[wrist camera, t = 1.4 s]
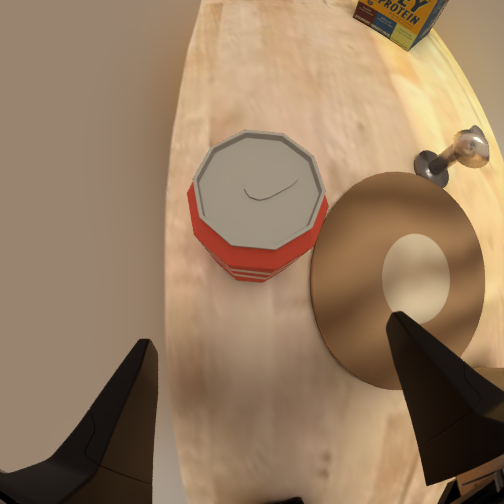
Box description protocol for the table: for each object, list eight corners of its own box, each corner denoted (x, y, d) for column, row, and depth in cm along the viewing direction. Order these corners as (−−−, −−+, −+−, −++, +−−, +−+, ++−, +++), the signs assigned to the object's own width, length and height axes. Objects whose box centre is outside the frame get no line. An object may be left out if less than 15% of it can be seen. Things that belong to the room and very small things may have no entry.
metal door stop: (416, 146, 24) (463, 100, 15) (446, 166, 24) (496, 128, 15) (411, 177, 24) (465, 133, 14) (442, 198, 23) (499, 163, 14)
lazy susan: (493, 325, 21) (498, 325, 20) (351, 424, 19) (354, 428, 19) (437, 159, 24) (442, 156, 23) (273, 210, 22) (274, 206, 22)
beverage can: (306, 256, 22) (366, 211, 10) (237, 297, 22) (226, 296, 10) (267, 194, 23) (284, 102, 11) (200, 232, 22) (154, 164, 11)
